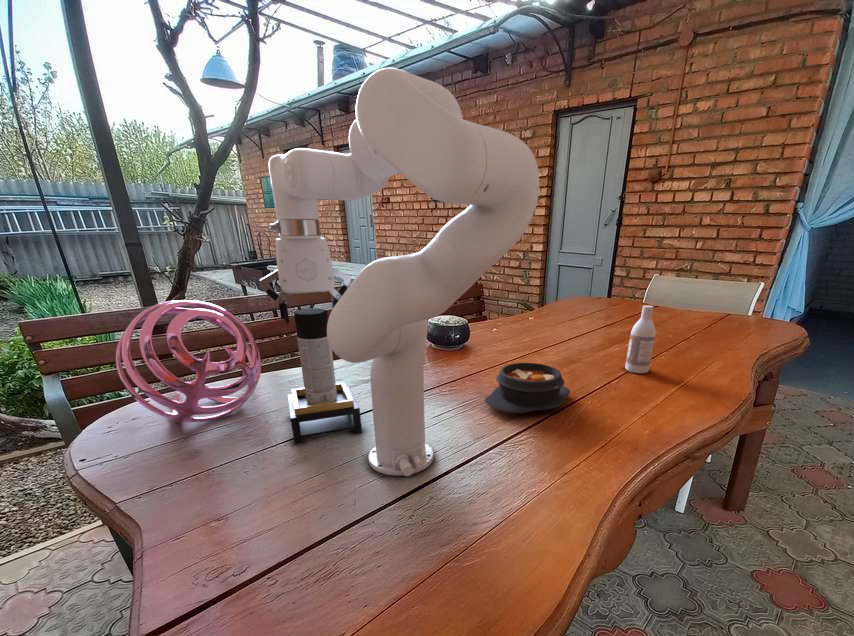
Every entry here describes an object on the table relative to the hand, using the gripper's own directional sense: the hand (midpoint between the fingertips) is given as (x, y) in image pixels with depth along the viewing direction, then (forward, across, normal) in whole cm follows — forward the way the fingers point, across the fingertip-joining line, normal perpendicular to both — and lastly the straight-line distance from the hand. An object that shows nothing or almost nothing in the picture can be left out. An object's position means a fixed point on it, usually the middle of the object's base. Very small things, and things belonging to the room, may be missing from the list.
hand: (312, 320), depth 87 cm
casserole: (+25, +50, -6) cm, 56 cm away
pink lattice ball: (+24, -25, +16) cm, 39 cm away
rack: (+24, 0, 0) cm, 24 cm away
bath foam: (+25, +95, +4) cm, 98 cm away
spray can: (+18, 0, 0) cm, 18 cm away
